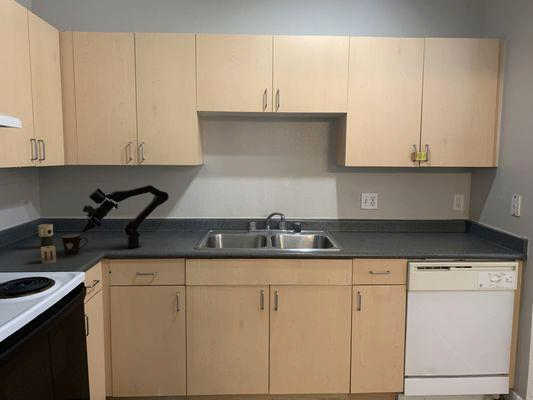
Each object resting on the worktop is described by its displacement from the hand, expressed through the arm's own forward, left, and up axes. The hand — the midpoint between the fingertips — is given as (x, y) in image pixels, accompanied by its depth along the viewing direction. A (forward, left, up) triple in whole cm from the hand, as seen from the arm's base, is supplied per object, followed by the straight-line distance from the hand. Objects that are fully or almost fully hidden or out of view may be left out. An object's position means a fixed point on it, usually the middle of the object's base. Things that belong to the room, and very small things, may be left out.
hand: (82, 231), depth 203 cm
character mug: (+31, +6, -12) cm, 33 cm away
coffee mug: (+2, +4, -12) cm, 13 cm away
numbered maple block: (-1, +18, -12) cm, 22 cm away
